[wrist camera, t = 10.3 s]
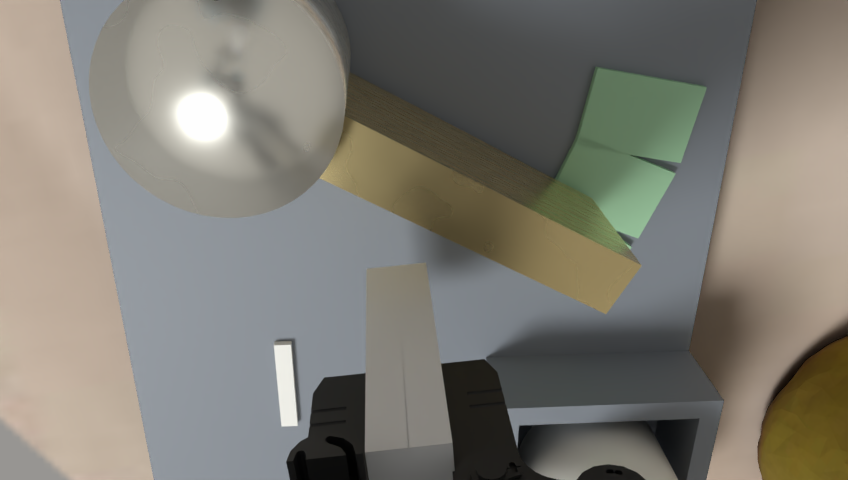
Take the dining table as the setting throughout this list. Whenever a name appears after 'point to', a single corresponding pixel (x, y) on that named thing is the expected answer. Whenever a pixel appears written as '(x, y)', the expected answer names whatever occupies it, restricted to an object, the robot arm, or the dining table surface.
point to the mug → (809, 421)
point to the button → (594, 449)
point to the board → (446, 260)
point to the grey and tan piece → (324, 138)
